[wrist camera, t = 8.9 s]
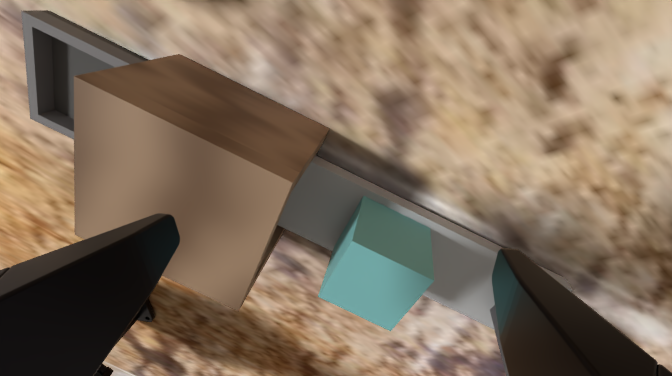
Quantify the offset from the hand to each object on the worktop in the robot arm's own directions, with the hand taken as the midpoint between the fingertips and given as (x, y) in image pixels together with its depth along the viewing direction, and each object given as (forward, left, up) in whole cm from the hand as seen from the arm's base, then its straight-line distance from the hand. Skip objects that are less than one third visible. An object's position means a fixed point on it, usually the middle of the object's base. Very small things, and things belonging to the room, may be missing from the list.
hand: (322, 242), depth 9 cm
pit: (+1, +18, -12) cm, 22 cm away
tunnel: (-3, +9, -12) cm, 15 cm away
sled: (-8, -3, -12) cm, 15 cm away
